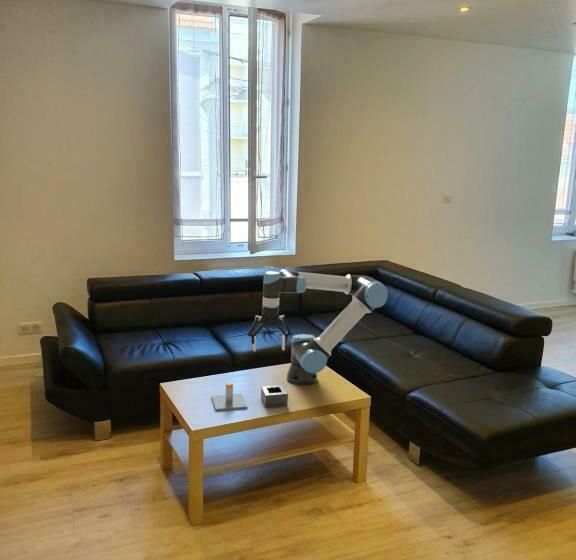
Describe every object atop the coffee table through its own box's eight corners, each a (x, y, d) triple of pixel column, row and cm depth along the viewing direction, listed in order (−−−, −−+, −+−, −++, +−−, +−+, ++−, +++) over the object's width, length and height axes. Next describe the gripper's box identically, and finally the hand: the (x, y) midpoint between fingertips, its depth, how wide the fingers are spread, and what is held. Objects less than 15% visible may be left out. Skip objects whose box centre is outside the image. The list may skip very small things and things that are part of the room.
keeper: (241, 395, 268) (242, 377, 266) (247, 408, 255) (247, 389, 253) (211, 397, 264) (211, 379, 262) (215, 411, 251) (215, 391, 249)
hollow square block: (282, 397, 268) (282, 384, 266) (287, 406, 258) (287, 393, 257) (260, 398, 265) (261, 386, 264) (265, 408, 256) (265, 395, 254)
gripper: (295, 303, 269) (293, 346, 273) (242, 303, 263) (241, 348, 268) (299, 307, 262) (297, 351, 266) (244, 308, 256) (243, 353, 261)
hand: (268, 350), depth 267 cm, fingers open, 13 cm apart
